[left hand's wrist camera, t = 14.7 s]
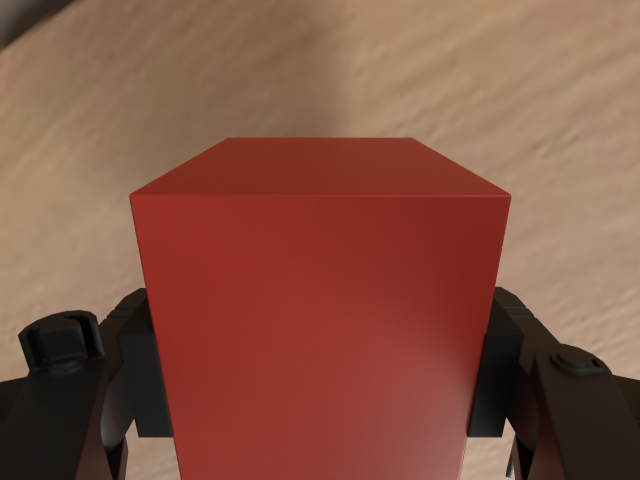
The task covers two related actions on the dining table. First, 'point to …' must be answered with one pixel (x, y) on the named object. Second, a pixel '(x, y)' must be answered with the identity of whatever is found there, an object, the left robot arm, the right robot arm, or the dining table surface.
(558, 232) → the dining table surface
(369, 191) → the block
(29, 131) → the dining table surface
